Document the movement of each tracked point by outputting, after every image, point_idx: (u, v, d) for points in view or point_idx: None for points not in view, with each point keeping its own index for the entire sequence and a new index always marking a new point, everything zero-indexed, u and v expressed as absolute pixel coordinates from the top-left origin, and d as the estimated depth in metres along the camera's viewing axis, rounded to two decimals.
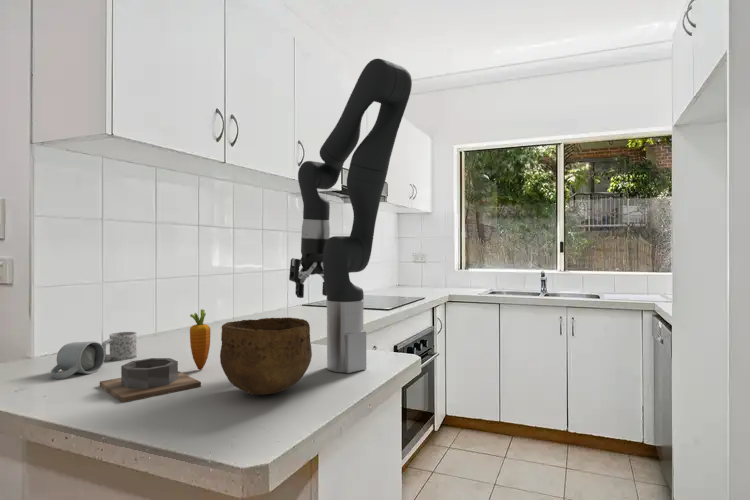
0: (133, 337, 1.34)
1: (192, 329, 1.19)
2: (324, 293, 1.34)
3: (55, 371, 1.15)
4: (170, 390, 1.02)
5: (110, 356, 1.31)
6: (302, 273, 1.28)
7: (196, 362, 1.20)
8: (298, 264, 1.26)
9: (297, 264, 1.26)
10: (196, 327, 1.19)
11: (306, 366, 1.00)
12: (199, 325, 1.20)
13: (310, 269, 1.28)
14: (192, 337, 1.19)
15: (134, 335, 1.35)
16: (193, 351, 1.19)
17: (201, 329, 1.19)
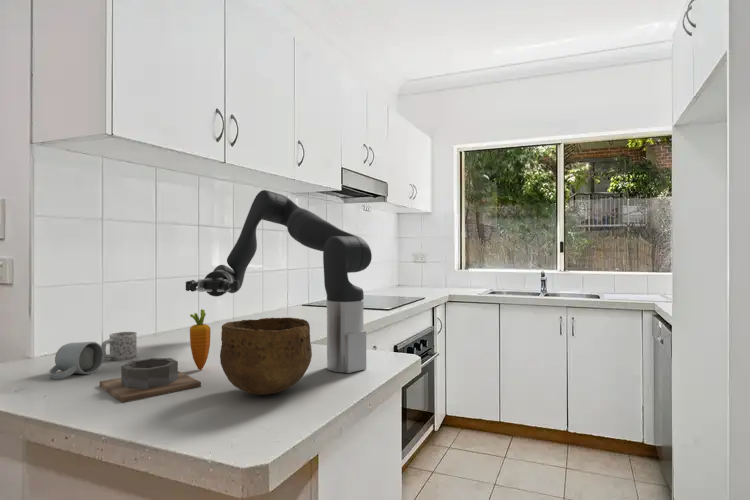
0: (133, 337, 1.34)
1: (192, 329, 1.19)
2: (223, 287, 1.33)
3: (53, 371, 1.15)
4: (170, 390, 1.02)
5: (110, 356, 1.31)
6: None
7: (196, 362, 1.20)
8: (192, 280, 1.40)
9: (191, 280, 1.40)
10: (196, 327, 1.19)
11: (306, 366, 1.00)
12: (199, 325, 1.20)
13: (204, 279, 1.39)
14: (192, 337, 1.19)
15: (134, 335, 1.35)
16: (193, 351, 1.19)
17: (201, 329, 1.19)
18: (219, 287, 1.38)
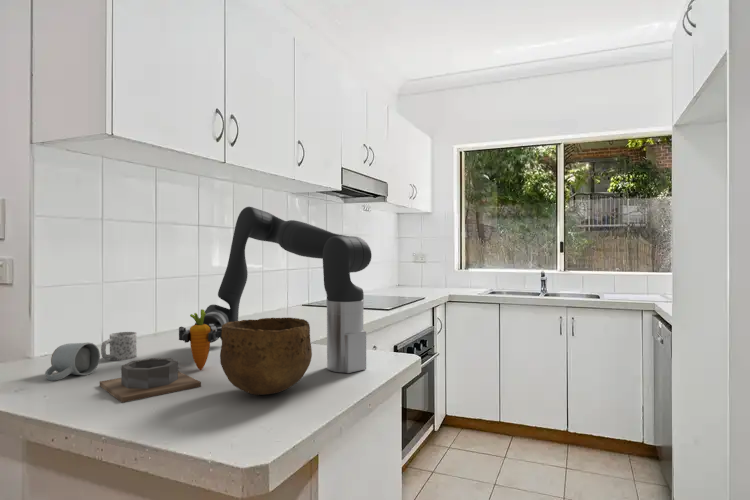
0: (133, 337, 1.34)
1: (192, 329, 1.19)
2: None
3: (49, 373, 1.14)
4: (170, 390, 1.02)
5: (110, 356, 1.31)
6: None
7: (196, 362, 1.20)
8: (182, 327, 1.26)
9: (181, 327, 1.26)
10: (196, 327, 1.19)
11: (306, 366, 1.00)
12: (199, 325, 1.20)
13: None
14: (192, 337, 1.19)
15: (134, 335, 1.35)
16: (193, 351, 1.19)
17: (201, 329, 1.19)
18: None
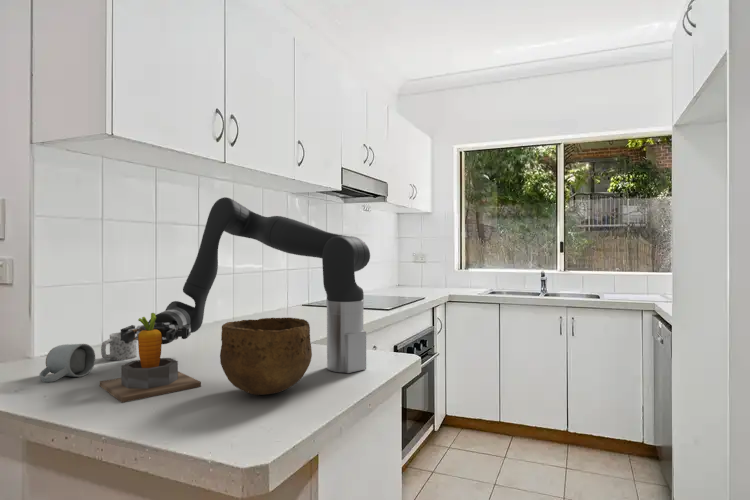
0: None
1: (140, 335, 1.05)
2: None
3: (44, 374, 1.13)
4: (170, 390, 1.02)
5: (110, 356, 1.31)
6: None
7: None
8: (132, 326, 1.13)
9: (130, 326, 1.13)
10: (144, 333, 1.05)
11: (306, 366, 1.00)
12: (148, 330, 1.06)
13: None
14: (140, 344, 1.05)
15: None
16: (141, 360, 1.05)
17: (150, 335, 1.05)
18: (164, 335, 1.11)
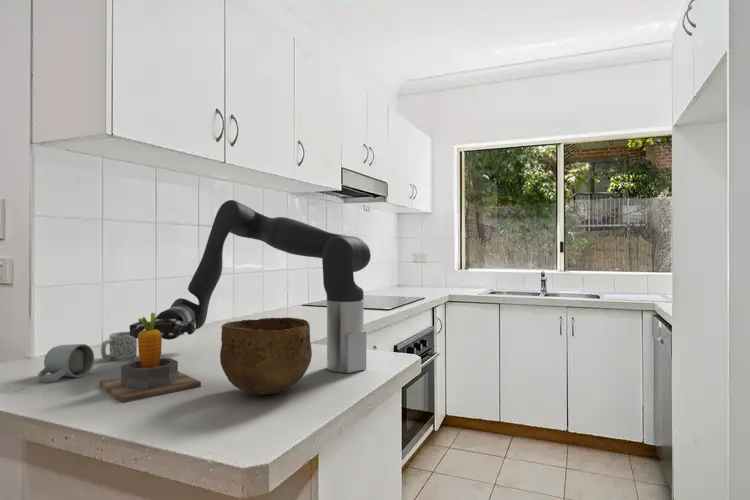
0: (133, 337, 1.34)
1: (140, 335, 1.05)
2: None
3: (42, 374, 1.12)
4: (170, 390, 1.02)
5: (110, 356, 1.31)
6: None
7: None
8: (140, 322, 1.19)
9: (138, 322, 1.19)
10: (144, 333, 1.05)
11: (306, 366, 1.00)
12: (148, 331, 1.06)
13: None
14: (140, 344, 1.05)
15: None
16: (141, 360, 1.05)
17: (150, 335, 1.05)
18: (170, 330, 1.17)
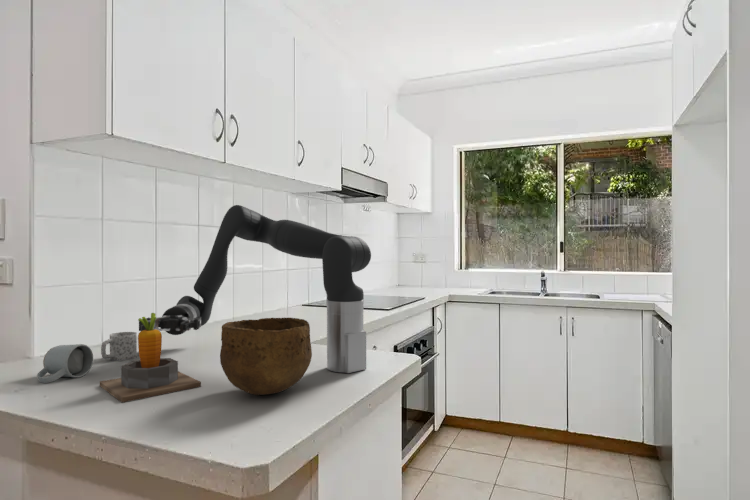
0: (133, 337, 1.34)
1: (140, 335, 1.05)
2: None
3: (41, 375, 1.12)
4: (170, 390, 1.02)
5: (110, 356, 1.31)
6: None
7: None
8: (148, 318, 1.25)
9: (147, 318, 1.25)
10: (144, 333, 1.05)
11: (306, 366, 1.00)
12: (148, 330, 1.06)
13: (161, 317, 1.24)
14: (140, 344, 1.05)
15: (134, 335, 1.35)
16: (141, 360, 1.05)
17: (150, 335, 1.05)
18: (177, 326, 1.23)
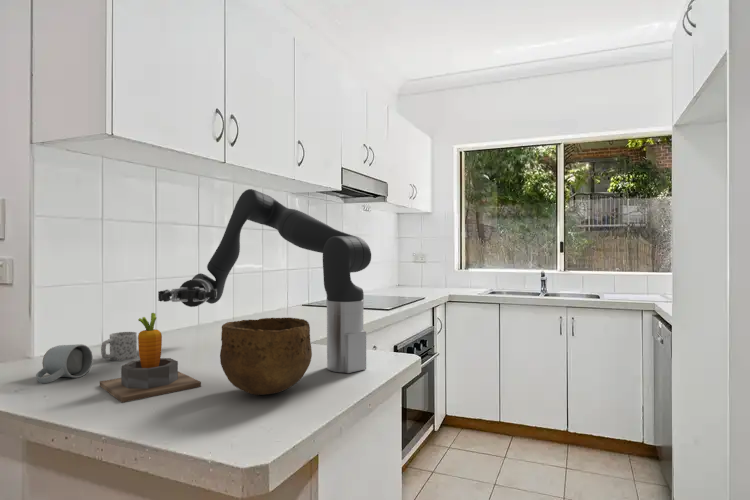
0: (133, 337, 1.34)
1: (140, 335, 1.05)
2: None
3: (40, 375, 1.12)
4: (170, 390, 1.02)
5: (110, 356, 1.31)
6: None
7: None
8: (166, 290, 1.30)
9: (165, 290, 1.30)
10: (144, 334, 1.05)
11: (306, 366, 1.00)
12: (148, 331, 1.06)
13: (179, 288, 1.30)
14: (140, 344, 1.05)
15: (134, 335, 1.35)
16: (141, 360, 1.05)
17: (150, 335, 1.05)
18: (195, 296, 1.29)
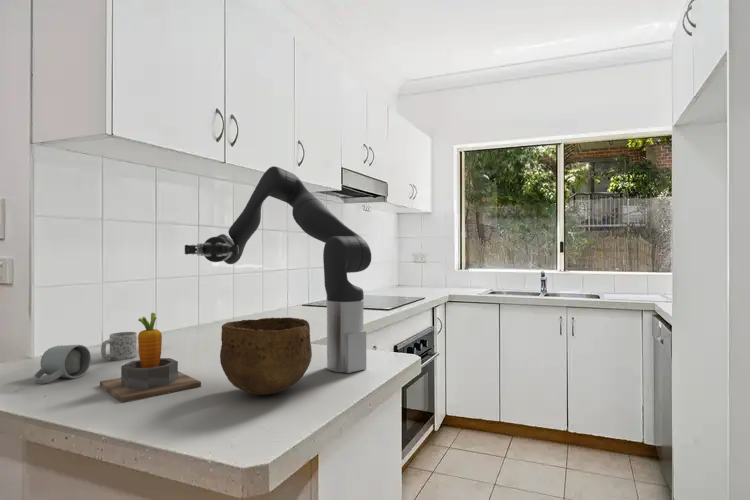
0: (133, 337, 1.34)
1: (140, 335, 1.05)
2: (223, 250, 1.32)
3: (39, 375, 1.11)
4: (170, 390, 1.02)
5: (110, 356, 1.31)
6: None
7: None
8: None
9: None
10: (144, 333, 1.05)
11: (306, 366, 1.00)
12: (148, 330, 1.06)
13: None
14: (140, 344, 1.05)
15: (134, 335, 1.35)
16: (141, 360, 1.05)
17: (150, 335, 1.05)
18: (218, 251, 1.37)
